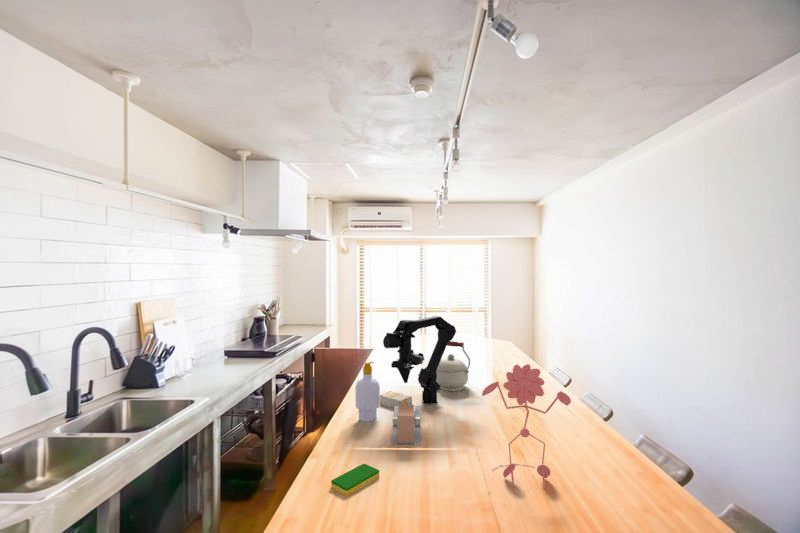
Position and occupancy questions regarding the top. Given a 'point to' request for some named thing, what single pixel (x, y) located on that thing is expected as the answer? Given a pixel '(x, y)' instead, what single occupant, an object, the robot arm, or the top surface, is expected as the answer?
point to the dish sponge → (355, 479)
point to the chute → (416, 428)
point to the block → (405, 423)
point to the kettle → (452, 371)
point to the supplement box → (394, 399)
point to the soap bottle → (367, 395)
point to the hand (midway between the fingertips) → (405, 382)
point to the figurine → (525, 388)
